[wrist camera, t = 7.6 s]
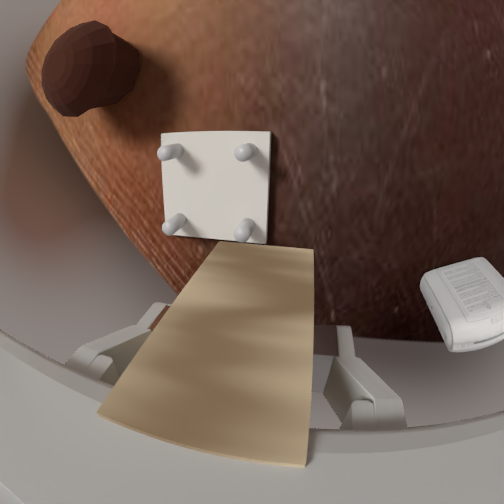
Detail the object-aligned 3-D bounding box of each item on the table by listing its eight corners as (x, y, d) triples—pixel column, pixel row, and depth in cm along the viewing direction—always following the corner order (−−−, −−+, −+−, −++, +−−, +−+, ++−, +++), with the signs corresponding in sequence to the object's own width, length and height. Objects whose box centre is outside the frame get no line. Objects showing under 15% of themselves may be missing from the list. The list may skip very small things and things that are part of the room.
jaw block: (313, 249, 12) (306, 465, 4) (303, 325, 13) (281, 511, 5) (219, 241, 12) (96, 412, 4) (222, 315, 14) (147, 480, 6)
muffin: (163, 79, 27) (108, 69, 18) (100, 131, 31) (43, 141, 22) (128, 15, 23) (76, -4, 14) (72, 68, 27) (19, 66, 18)
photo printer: (419, 300, 31) (449, 369, 20) (417, 271, 30) (453, 338, 19) (483, 280, 28) (526, 338, 17) (484, 251, 27) (535, 305, 16)
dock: (271, 131, 27) (265, 132, 24) (267, 240, 32) (260, 255, 29) (165, 133, 29) (146, 135, 26) (170, 231, 34) (154, 244, 31)
